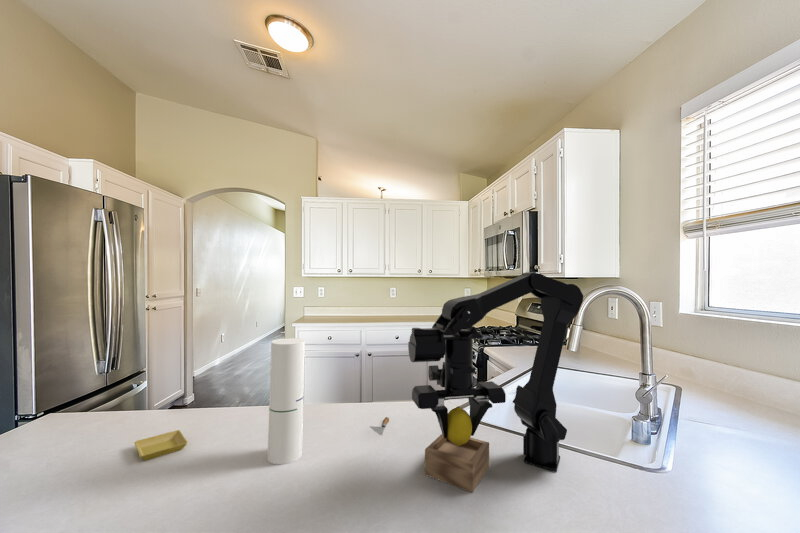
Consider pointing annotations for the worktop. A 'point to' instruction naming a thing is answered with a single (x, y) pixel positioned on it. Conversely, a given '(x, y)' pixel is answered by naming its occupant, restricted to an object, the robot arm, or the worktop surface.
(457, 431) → the lemon
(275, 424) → the cylindrical container
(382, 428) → the putty knife
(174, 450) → the yellow tray
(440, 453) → the walnut box
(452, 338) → the robot arm
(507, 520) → the worktop surface
